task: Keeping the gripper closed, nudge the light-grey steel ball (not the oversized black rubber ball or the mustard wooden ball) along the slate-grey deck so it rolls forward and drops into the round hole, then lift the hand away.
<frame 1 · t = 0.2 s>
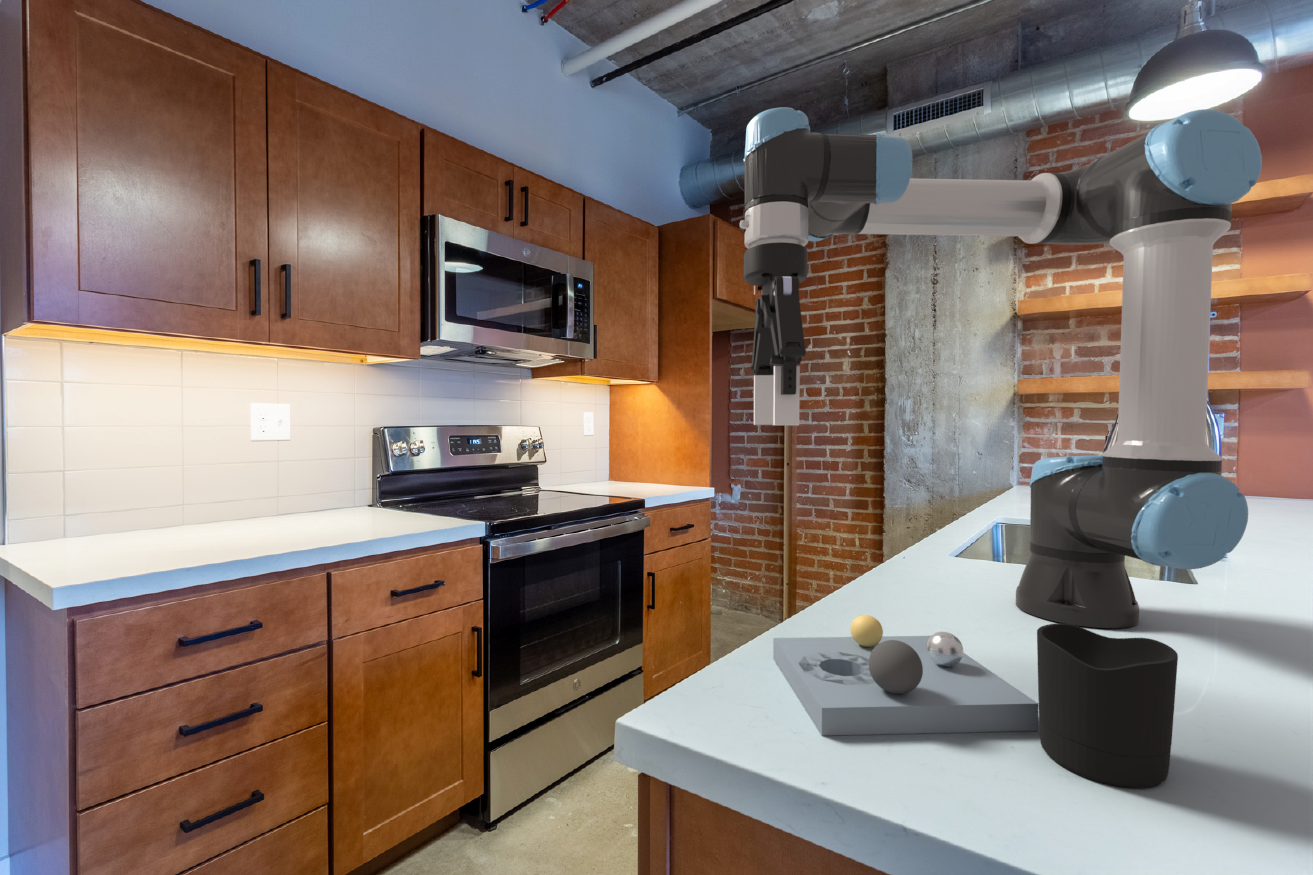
hand: (774, 425, 75), 28 cm above the countertop, fingers open, 13 cm apart
steel ball: (944, 648, 65), point 4 cm above the countertop, touching deck
pen holder: (1100, 762, 52), on the countertop
deck: (888, 690, 65), on the countertop
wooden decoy: (866, 630, 71), point 4 cm above the countertop, touching deck
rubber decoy: (895, 666, 59), point 5 cm above the countertop, touching deck
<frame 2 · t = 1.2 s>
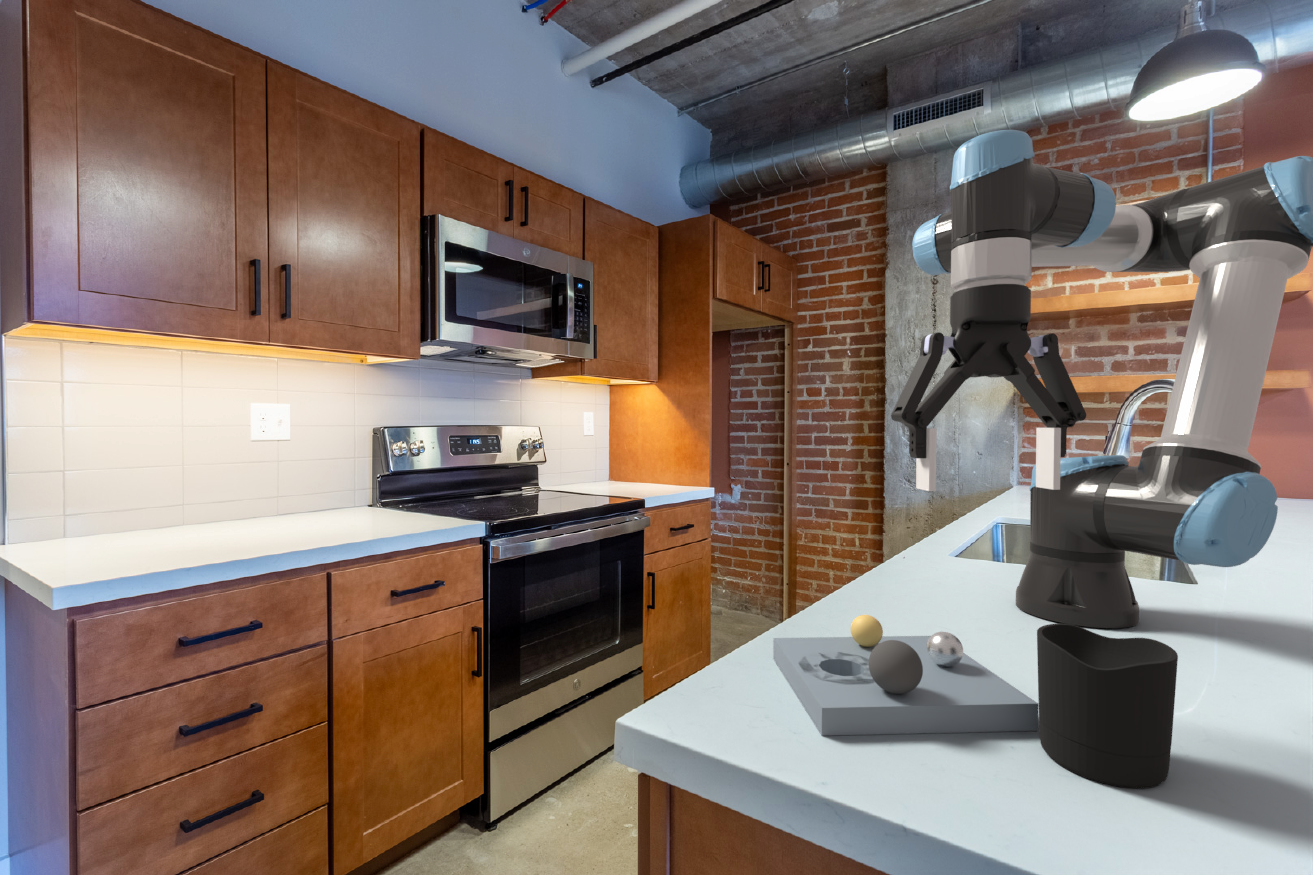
hand: (987, 489, 66), 21 cm above the countertop, fingers open, 13 cm apart
nothing on the countertop moved.
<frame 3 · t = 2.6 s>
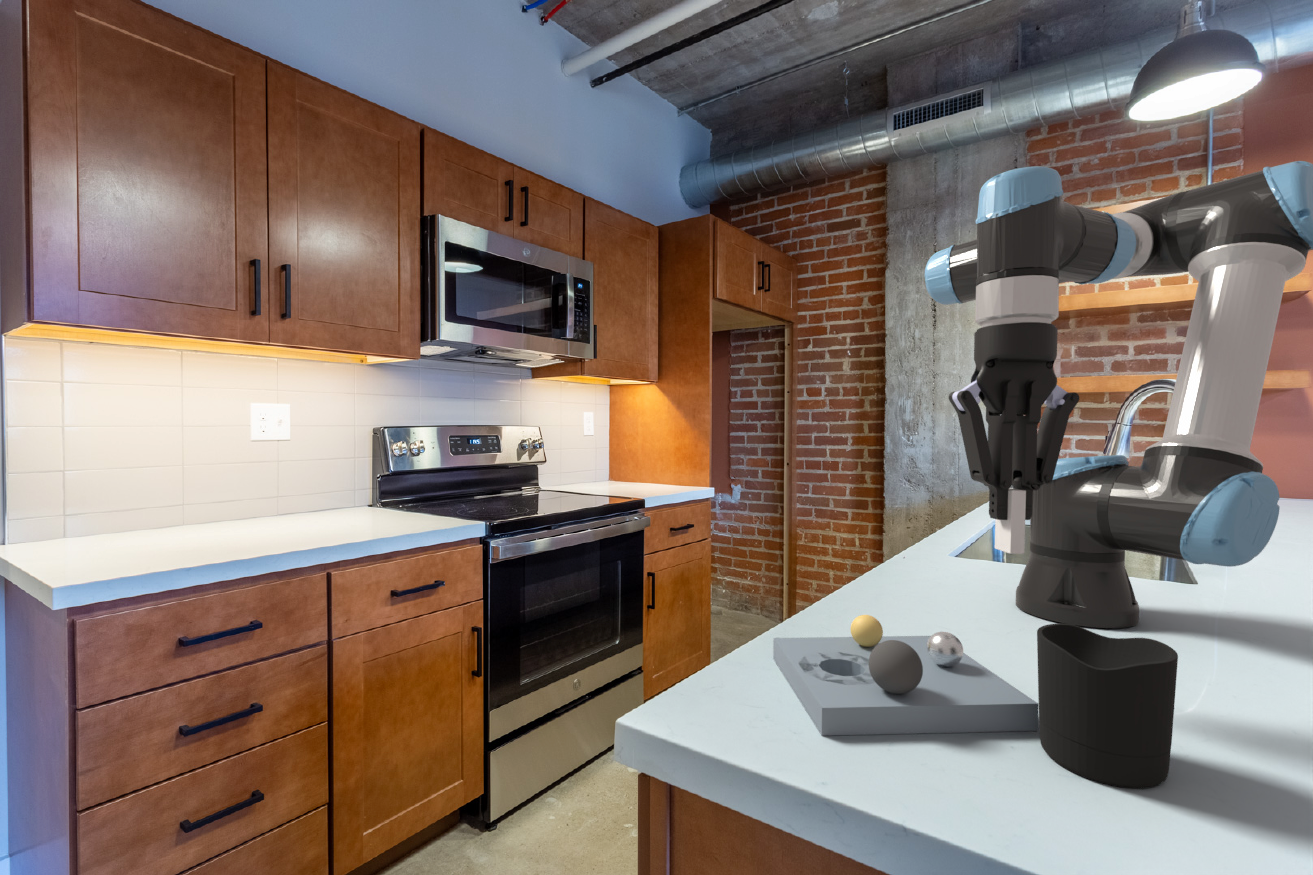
hand: (1009, 550, 65), 15 cm above the countertop, fingers closed
nothing on the countertop moved.
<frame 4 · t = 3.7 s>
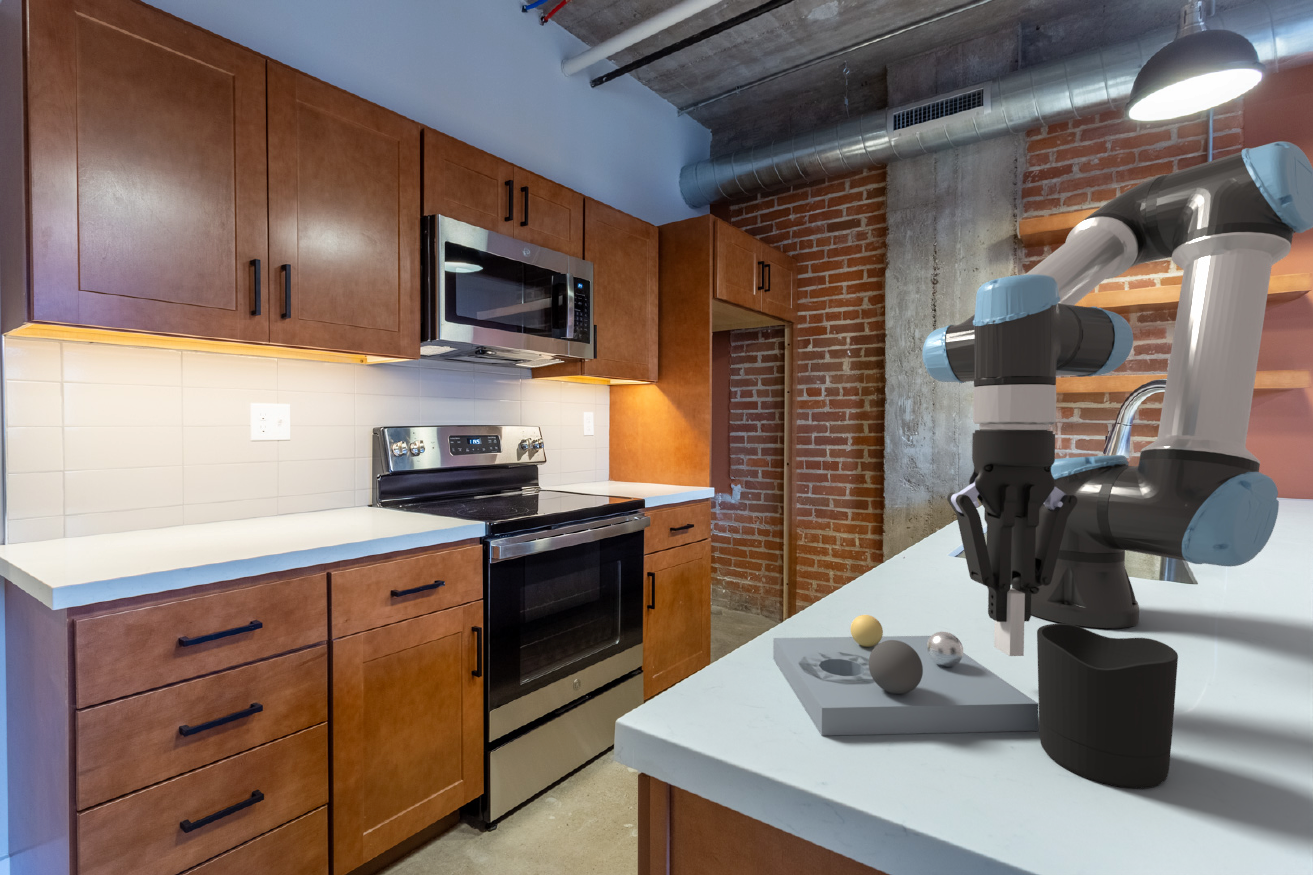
hand: (1008, 650, 66), 4 cm above the countertop, fingers closed
nothing on the countertop moved.
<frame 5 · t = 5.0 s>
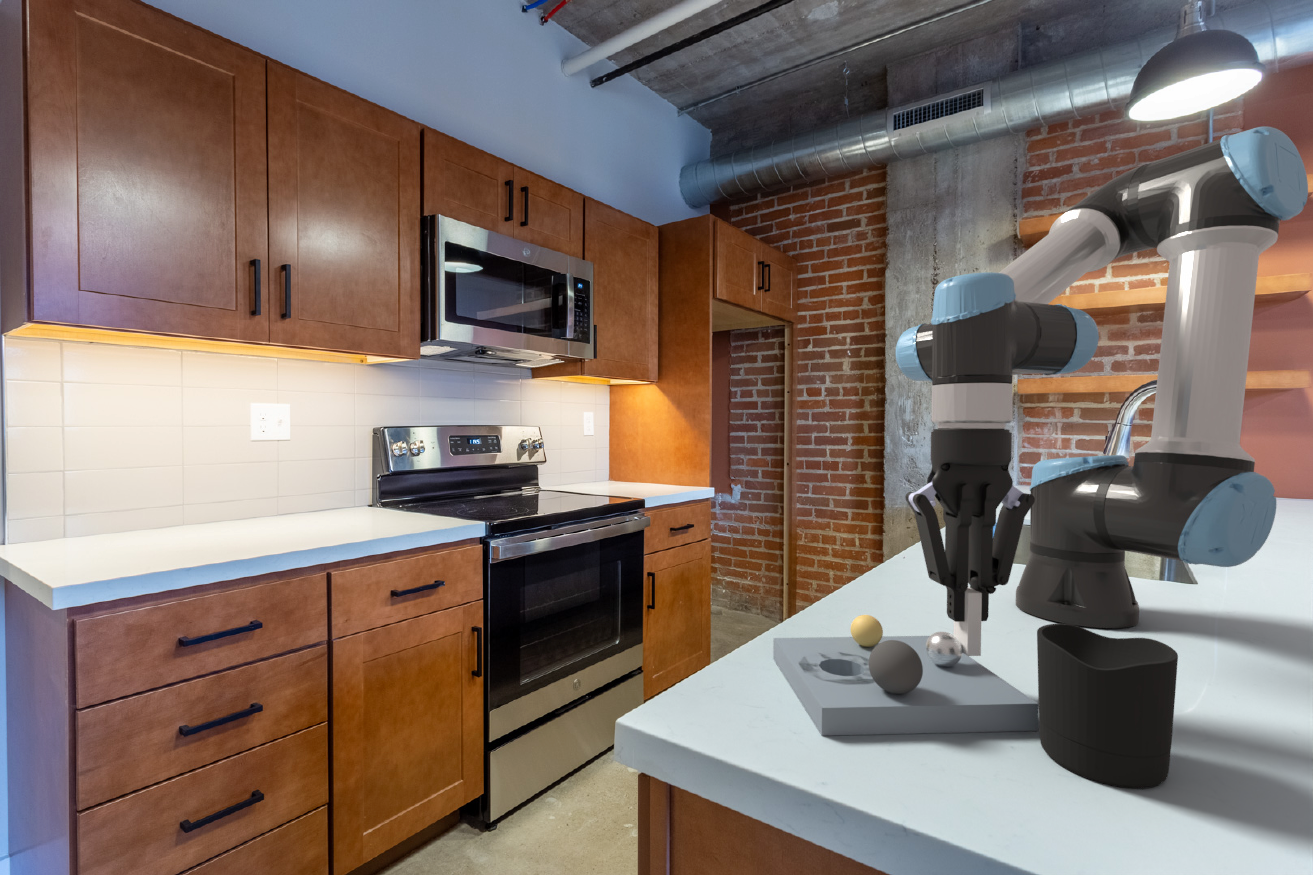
hand: (966, 650, 65), 4 cm above the countertop, fingers closed
steel ball: (943, 649, 65), point 4 cm above the countertop, touching deck, gripper
everything else where it was.
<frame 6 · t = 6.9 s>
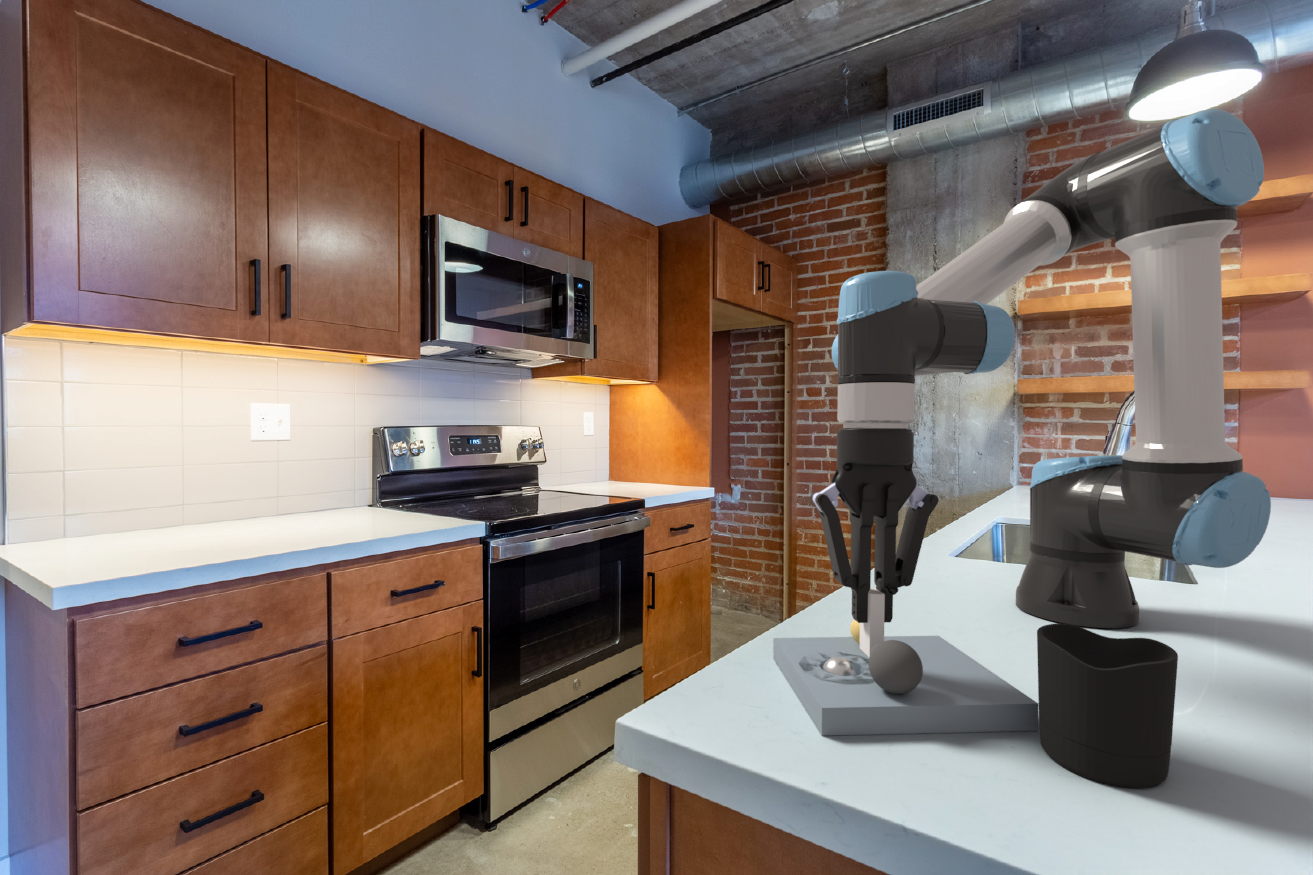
hand: (871, 652, 65), 4 cm above the countertop, fingers closed
steel ball: (838, 674, 65), point 2 cm above the countertop, tilted 50°
everything else where it was.
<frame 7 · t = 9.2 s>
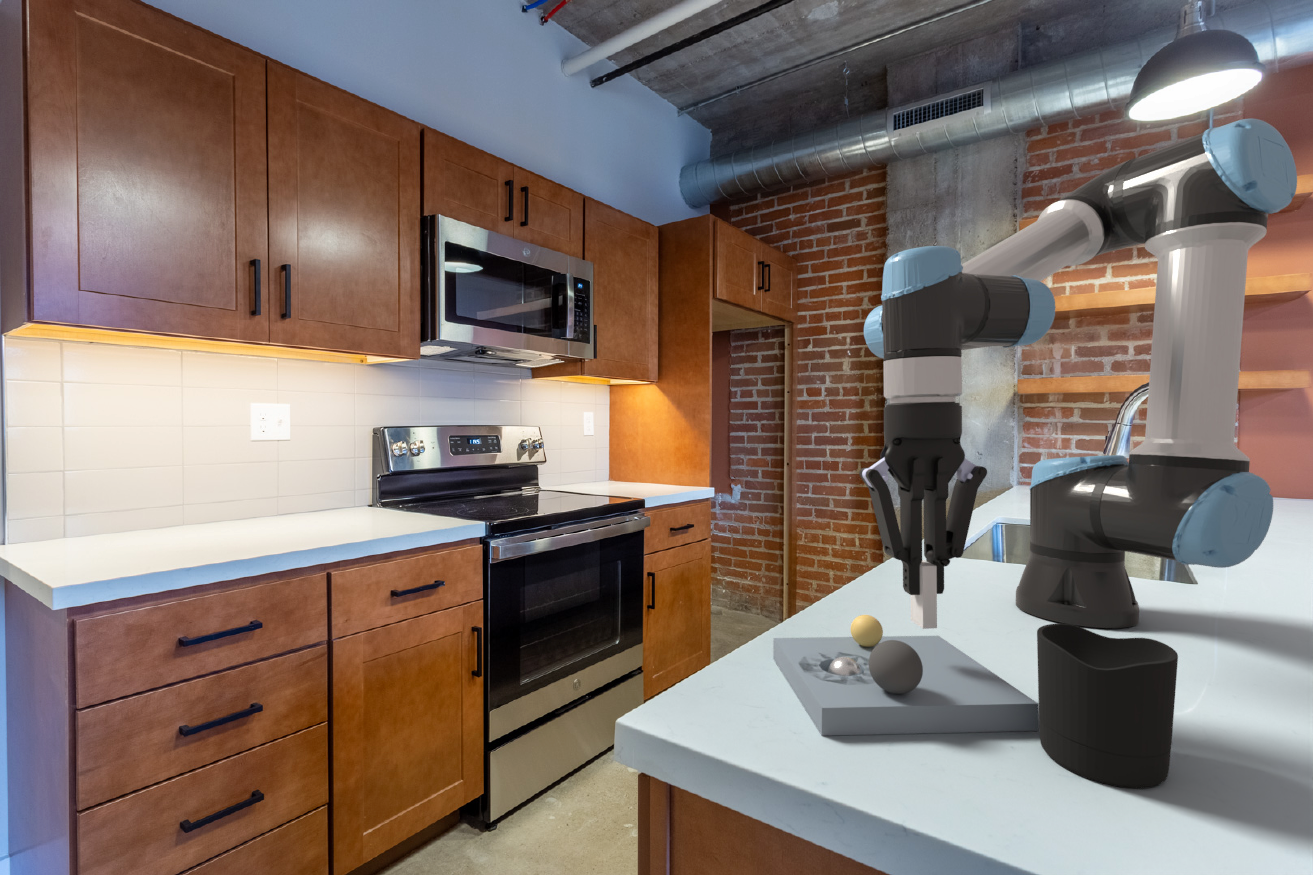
hand: (923, 623, 66), 7 cm above the countertop, fingers closed
steel ball: (845, 674, 65), point 2 cm above the countertop, tilted 28°
everything else where it was.
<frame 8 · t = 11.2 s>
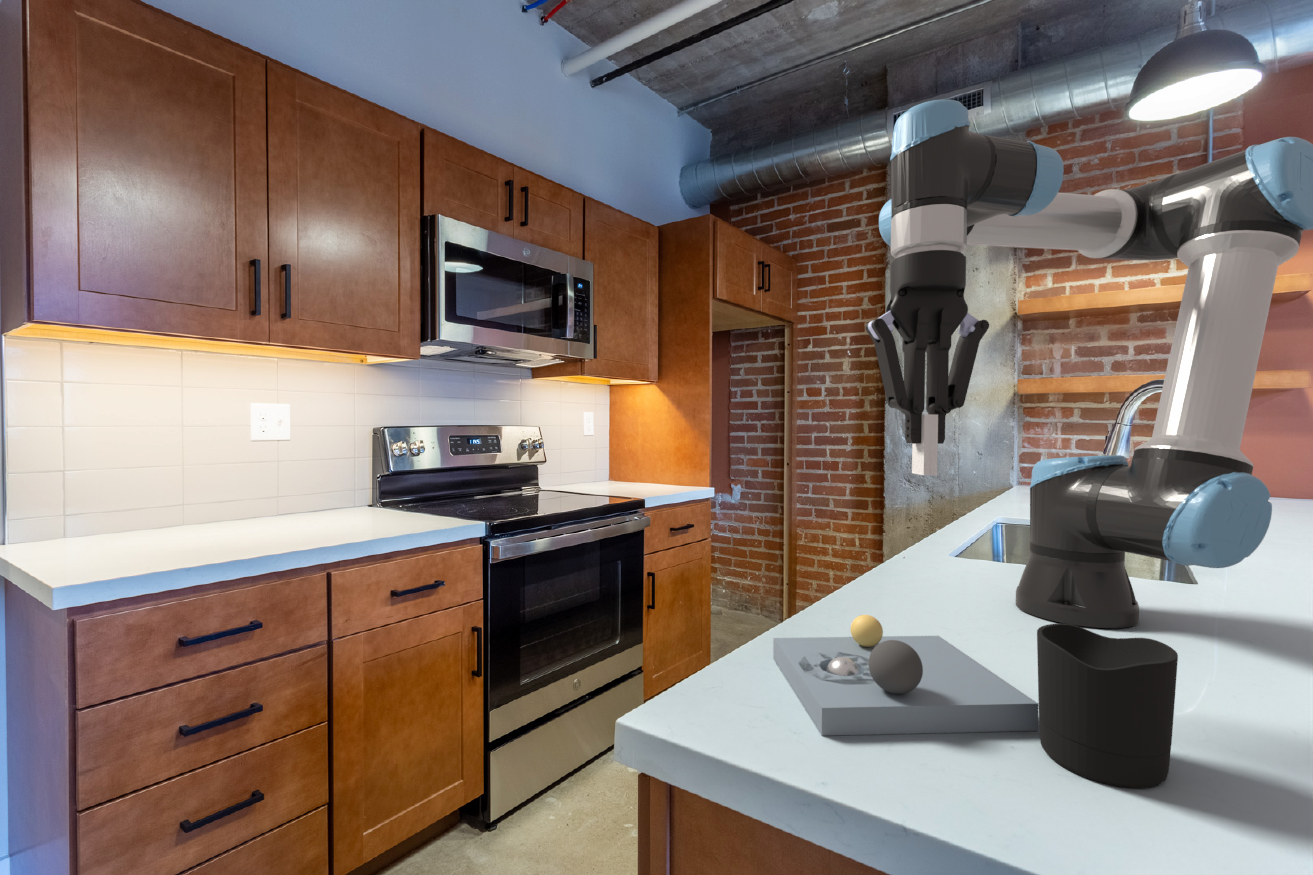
hand: (924, 474, 68), 22 cm above the countertop, fingers closed
steel ball: (843, 674, 65), point 2 cm above the countertop, tilted 35°
everything else where it was.
at the end: steel ball 0.2 cm from the target spot in the deck, point 1.7 cm above the deck's base; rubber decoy moved 0.1 cm from its start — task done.
